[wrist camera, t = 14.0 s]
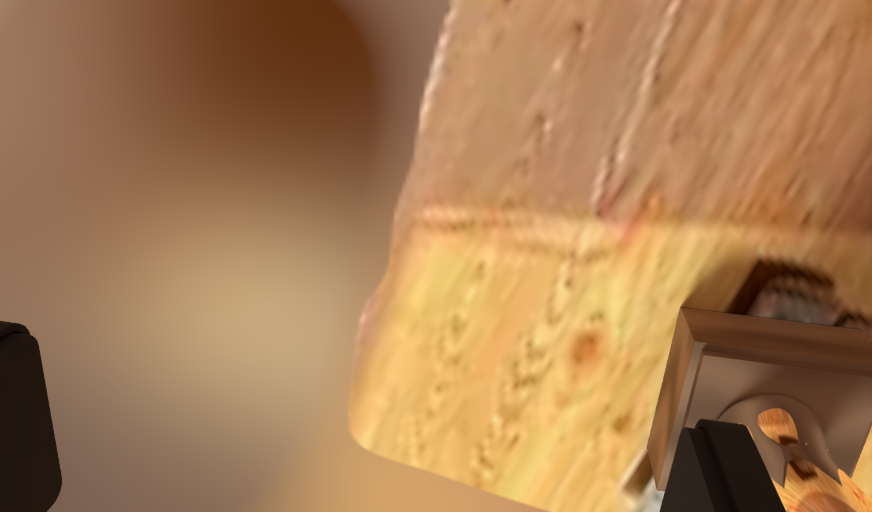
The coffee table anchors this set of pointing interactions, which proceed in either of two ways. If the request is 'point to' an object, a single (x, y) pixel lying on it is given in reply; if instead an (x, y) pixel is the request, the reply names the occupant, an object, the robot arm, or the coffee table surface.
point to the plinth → (763, 378)
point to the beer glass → (797, 455)
